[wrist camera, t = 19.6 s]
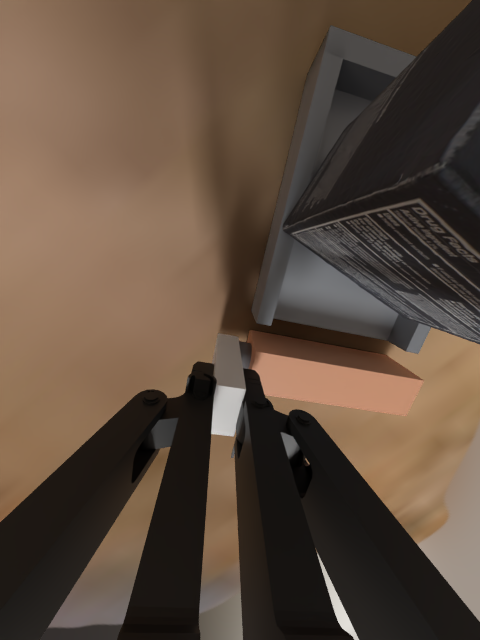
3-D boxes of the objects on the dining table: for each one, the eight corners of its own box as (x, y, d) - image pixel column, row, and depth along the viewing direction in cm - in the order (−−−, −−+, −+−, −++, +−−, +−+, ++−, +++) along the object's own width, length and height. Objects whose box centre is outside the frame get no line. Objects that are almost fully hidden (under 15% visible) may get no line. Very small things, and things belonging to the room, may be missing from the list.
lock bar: (229, 361, 19) (230, 389, 15) (237, 327, 18) (240, 348, 14) (372, 384, 21) (406, 416, 17) (385, 354, 20) (424, 380, 16)
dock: (235, 376, 20) (237, 400, 17) (307, 73, 14) (330, 25, 11) (362, 396, 21) (385, 421, 18) (477, 130, 15) (539, 101, 12)
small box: (476, 233, 14) (1073, 202, 4) (403, 320, 16) (716, 448, 6) (349, 116, 12) (972, -536, 2) (277, 230, 13) (430, 182, 3)
